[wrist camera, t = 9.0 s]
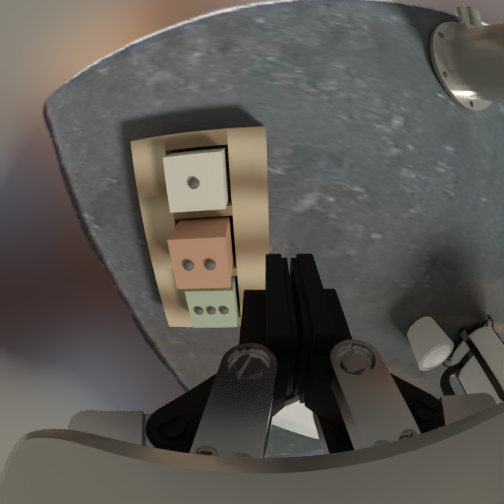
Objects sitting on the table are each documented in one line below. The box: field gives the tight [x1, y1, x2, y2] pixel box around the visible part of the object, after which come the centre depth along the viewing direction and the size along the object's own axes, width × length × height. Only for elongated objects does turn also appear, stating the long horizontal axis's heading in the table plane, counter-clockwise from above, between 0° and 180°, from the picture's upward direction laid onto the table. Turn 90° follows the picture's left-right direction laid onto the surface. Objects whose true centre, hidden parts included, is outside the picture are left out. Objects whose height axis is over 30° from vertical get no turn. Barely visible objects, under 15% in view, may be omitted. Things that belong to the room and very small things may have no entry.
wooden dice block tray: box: [131, 126, 269, 327], centre depth 30 cm, size 23×13×3 cm, turn 3°
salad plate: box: [272, 395, 319, 439], centre depth 47 cm, size 21×21×3 cm
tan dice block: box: [167, 217, 233, 289], centre depth 27 cm, size 5×5×5 cm
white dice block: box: [163, 146, 230, 213], centre depth 25 cm, size 5×5×5 cm
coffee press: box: [440, 318, 504, 404], centre depth 29 cm, size 17×16×30 cm
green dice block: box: [185, 276, 238, 327], centre depth 32 cm, size 5×5×5 cm
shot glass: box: [407, 317, 454, 371], centre depth 36 cm, size 7×7×7 cm
